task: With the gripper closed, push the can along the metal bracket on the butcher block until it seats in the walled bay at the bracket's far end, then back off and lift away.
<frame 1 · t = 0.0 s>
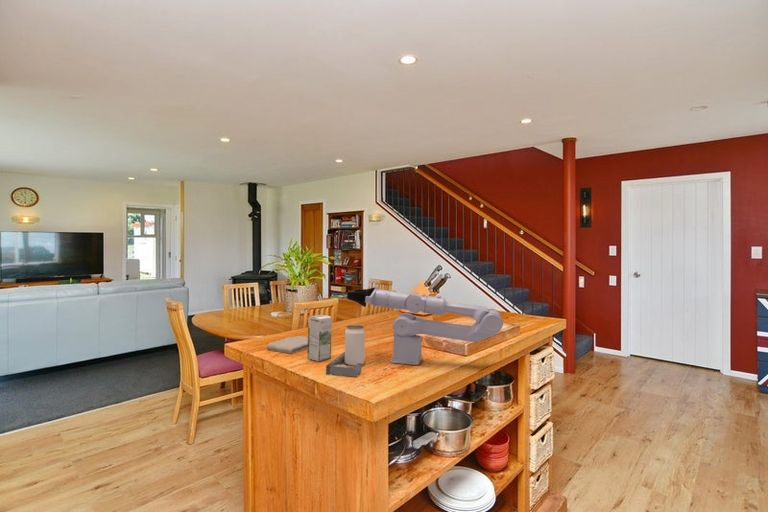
hand: (351, 294, 136), 22 cm above the table, tool horizontal, fingers open, 7 cm apart
syrup box: (319, 359, 133), on the table
washcloth: (295, 348, 148), on the table
can: (354, 363, 128), on the table
metal bracket: (349, 368, 123), on the table
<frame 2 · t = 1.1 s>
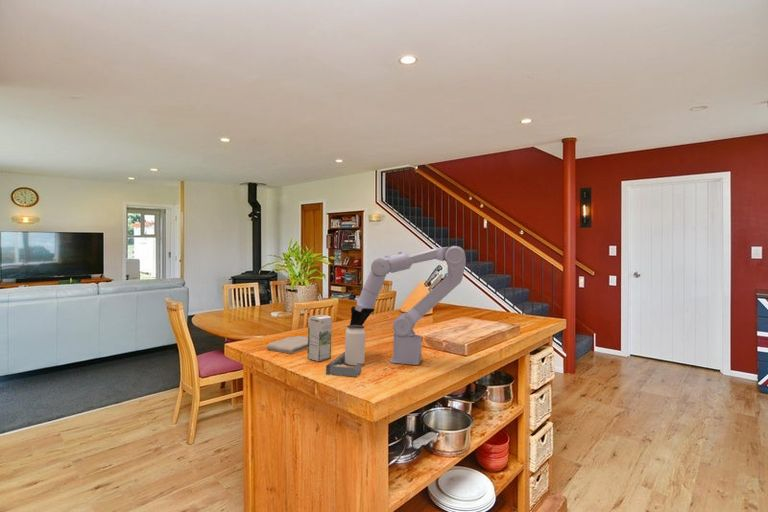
hand: (355, 326, 136), 11 cm above the table, tool tilted 20°, fingers open, 7 cm apart
can: (354, 363, 128), on the table, touching gripper
everything else where it was.
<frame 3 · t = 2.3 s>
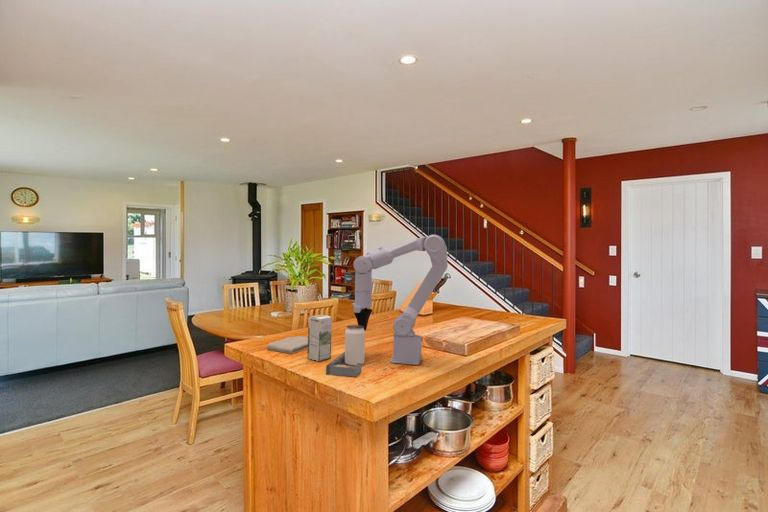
hand: (362, 330, 135), 9 cm above the table, tool pointing down, fingers closed
can: (354, 363, 128), on the table
everything else where it was.
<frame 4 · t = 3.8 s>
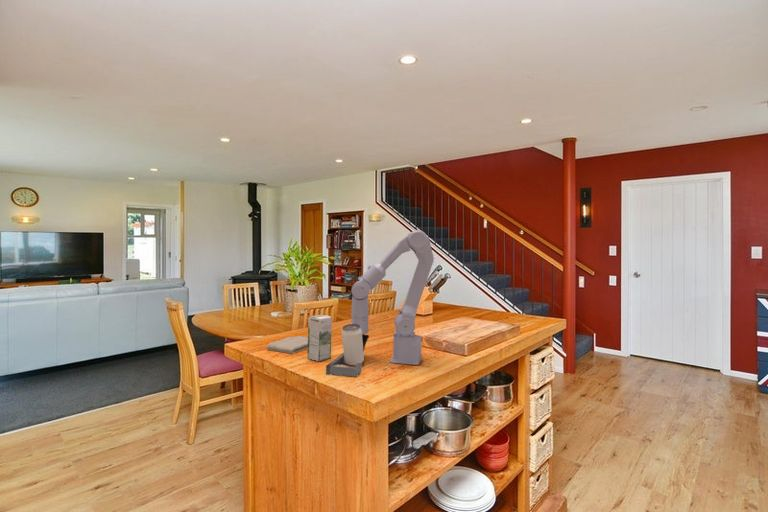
hand: (359, 357, 132), 1 cm above the table, tool pointing down, fingers closed, pressing on can
can: (354, 361, 128), on the table, touching gripper
everything else where it was.
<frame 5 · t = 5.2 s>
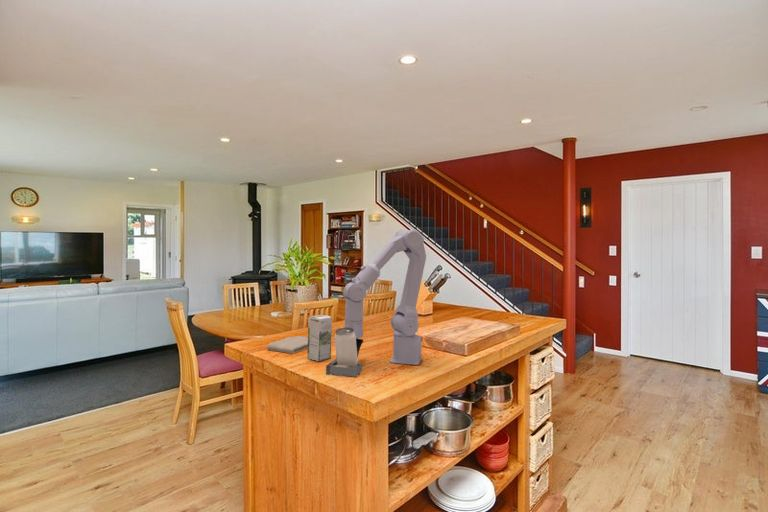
hand: (353, 362, 126), 1 cm above the table, tool pointing down, fingers closed, pressing on can
can: (348, 367, 122), on the table, touching gripper
everything else where it was.
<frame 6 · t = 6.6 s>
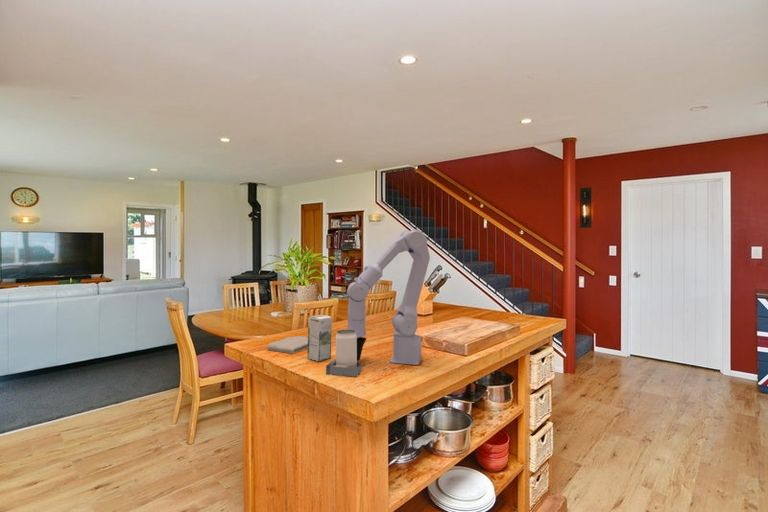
hand: (356, 360, 128), 1 cm above the table, tool pointing down, fingers closed
can: (346, 370, 121), on the table
everything else where it was.
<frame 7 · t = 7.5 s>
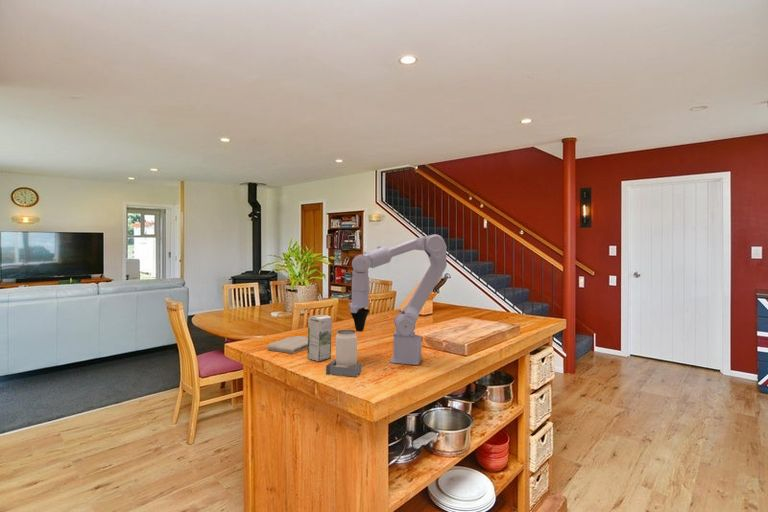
hand: (359, 331, 131), 10 cm above the table, tool pointing down, fingers closed
nothing on the table moved.
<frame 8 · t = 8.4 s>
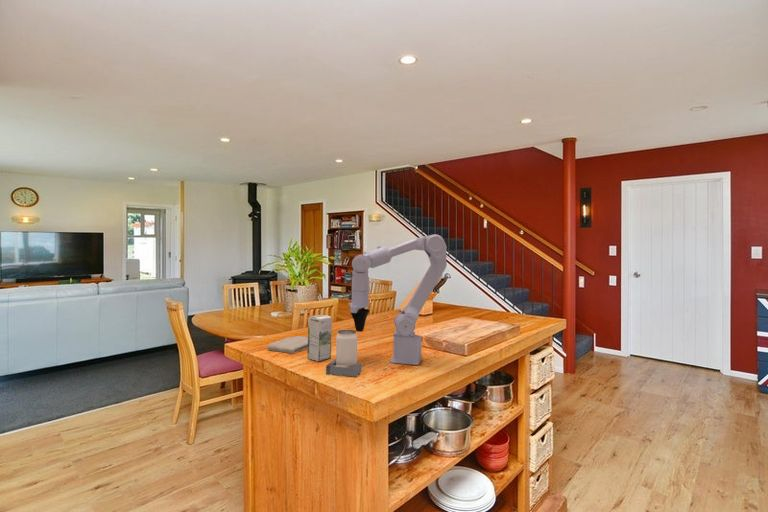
hand: (359, 331, 131), 10 cm above the table, tool pointing down, fingers closed
nothing on the table moved.
at the end: can 1.3 cm from the target spot, on the table; can tilted 1° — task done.
